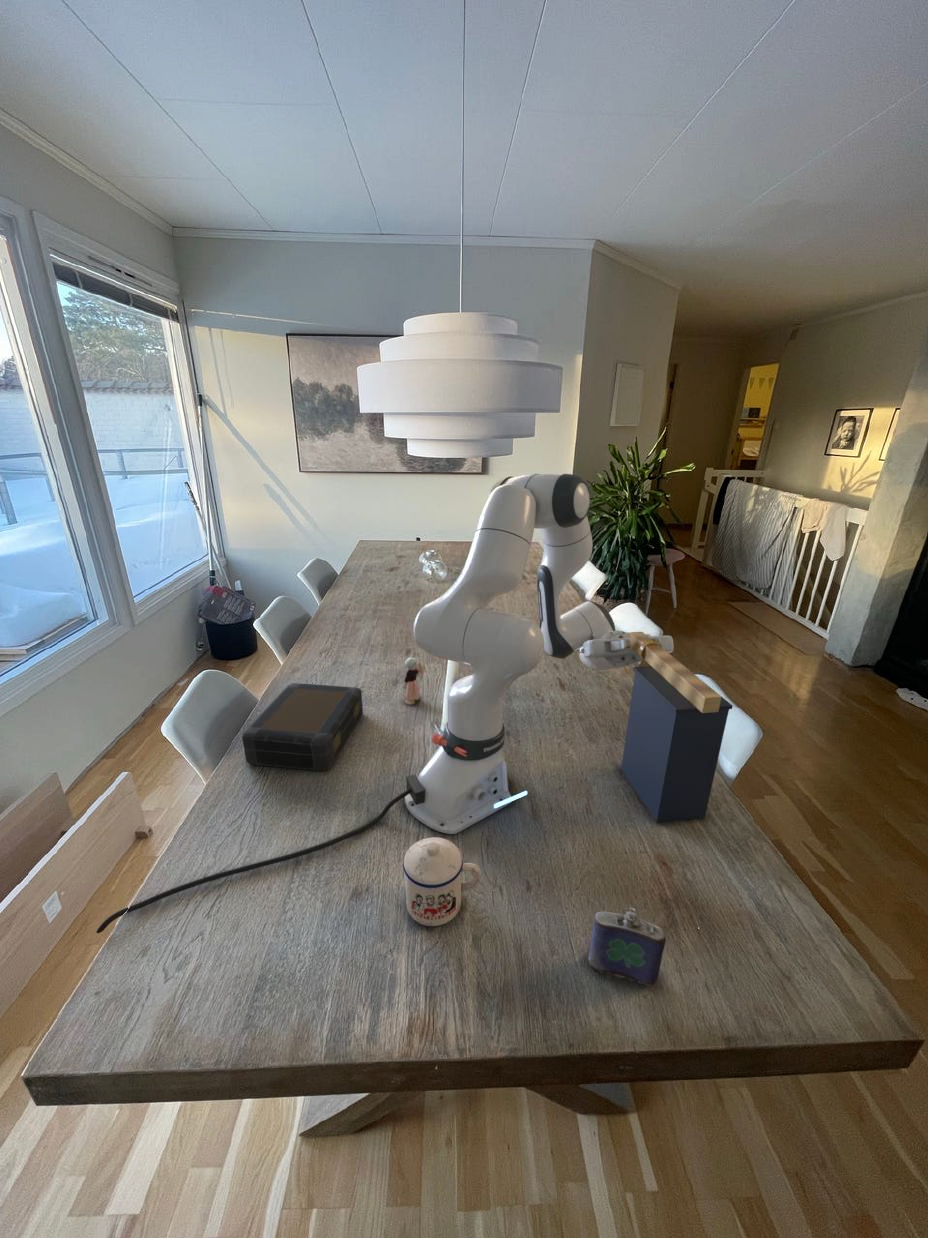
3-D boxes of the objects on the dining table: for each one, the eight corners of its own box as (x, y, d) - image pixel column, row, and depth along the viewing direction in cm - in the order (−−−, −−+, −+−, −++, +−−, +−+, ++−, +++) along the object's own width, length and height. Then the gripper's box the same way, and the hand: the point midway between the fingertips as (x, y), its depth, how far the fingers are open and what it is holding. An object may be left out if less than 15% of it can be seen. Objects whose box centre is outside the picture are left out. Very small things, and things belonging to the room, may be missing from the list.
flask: (587, 969, 72) (595, 913, 68) (589, 949, 74) (596, 894, 70) (657, 990, 69) (669, 933, 65) (656, 969, 72) (668, 913, 68)
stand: (619, 769, 113) (633, 667, 104) (664, 765, 114) (682, 664, 105) (655, 824, 98) (676, 709, 88) (707, 818, 99) (732, 705, 90)
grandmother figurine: (415, 707, 136) (414, 664, 132) (401, 706, 137) (399, 663, 133) (423, 693, 143) (422, 652, 139) (410, 692, 144) (408, 651, 140)
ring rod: (624, 647, 114) (626, 629, 113) (643, 646, 115) (645, 628, 113) (697, 717, 88) (702, 694, 86) (721, 715, 88) (726, 692, 87)
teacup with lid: (404, 932, 77) (402, 873, 72) (404, 881, 85) (402, 825, 81) (484, 924, 78) (486, 866, 74) (476, 875, 86) (478, 820, 82)
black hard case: (291, 706, 136) (287, 680, 134) (365, 712, 134) (363, 686, 131) (240, 765, 113) (235, 735, 110) (329, 773, 111) (326, 743, 108)
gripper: (573, 638, 123) (595, 630, 109) (653, 634, 126) (684, 626, 112) (576, 664, 122) (598, 660, 108) (656, 660, 125) (688, 655, 111)
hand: (643, 643), depth 110 cm, fingers open, 6 cm apart
